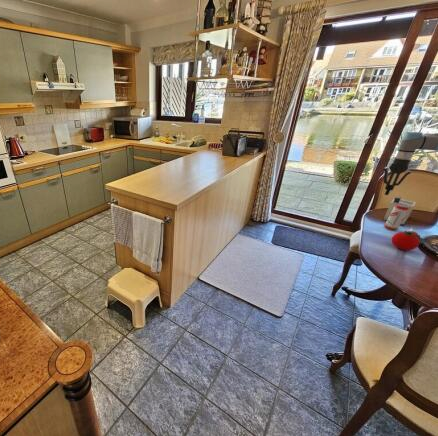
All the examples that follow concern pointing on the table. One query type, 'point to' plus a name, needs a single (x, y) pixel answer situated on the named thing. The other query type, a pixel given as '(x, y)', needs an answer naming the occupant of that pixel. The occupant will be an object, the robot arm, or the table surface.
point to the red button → (413, 232)
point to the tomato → (405, 240)
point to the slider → (397, 199)
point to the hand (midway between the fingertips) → (386, 194)
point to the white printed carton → (405, 202)
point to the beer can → (396, 217)
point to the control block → (420, 239)
